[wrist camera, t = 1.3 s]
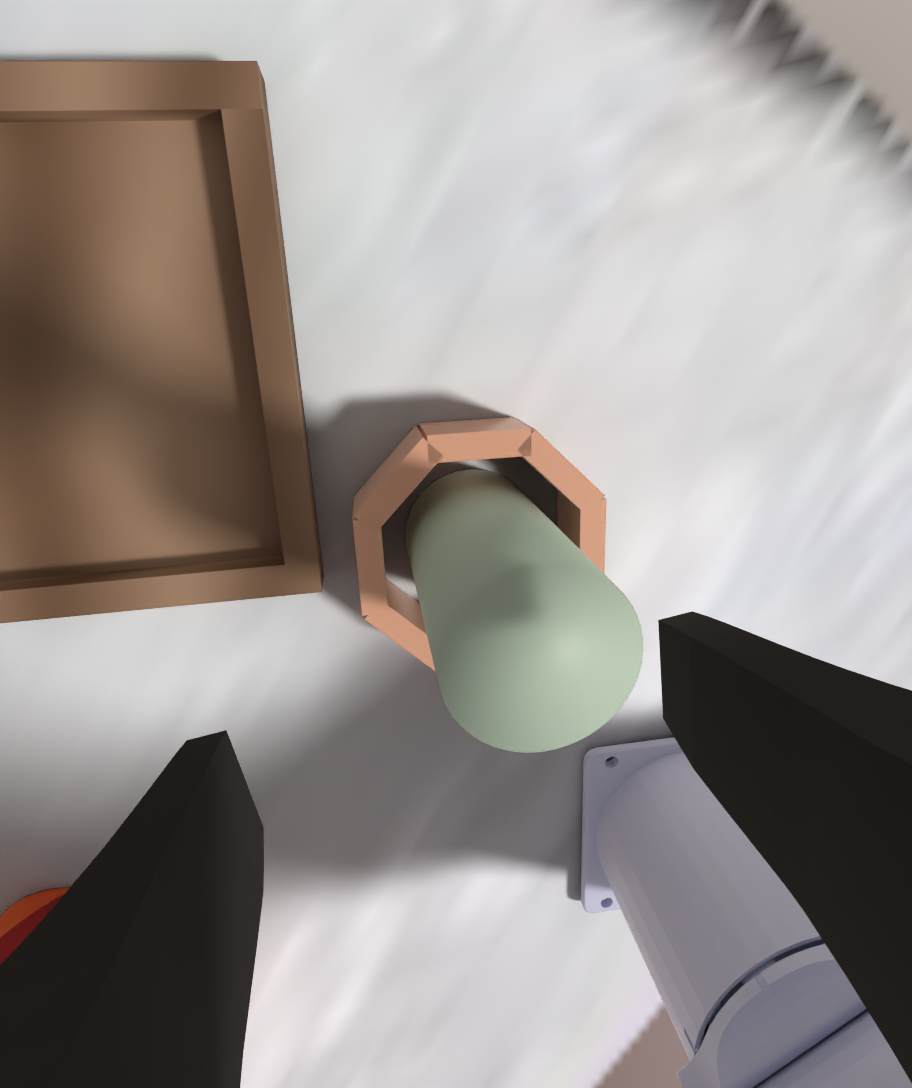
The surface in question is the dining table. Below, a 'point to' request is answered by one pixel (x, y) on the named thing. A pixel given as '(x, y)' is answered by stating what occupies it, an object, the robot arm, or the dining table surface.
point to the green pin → (517, 617)
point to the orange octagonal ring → (411, 464)
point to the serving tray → (146, 344)
